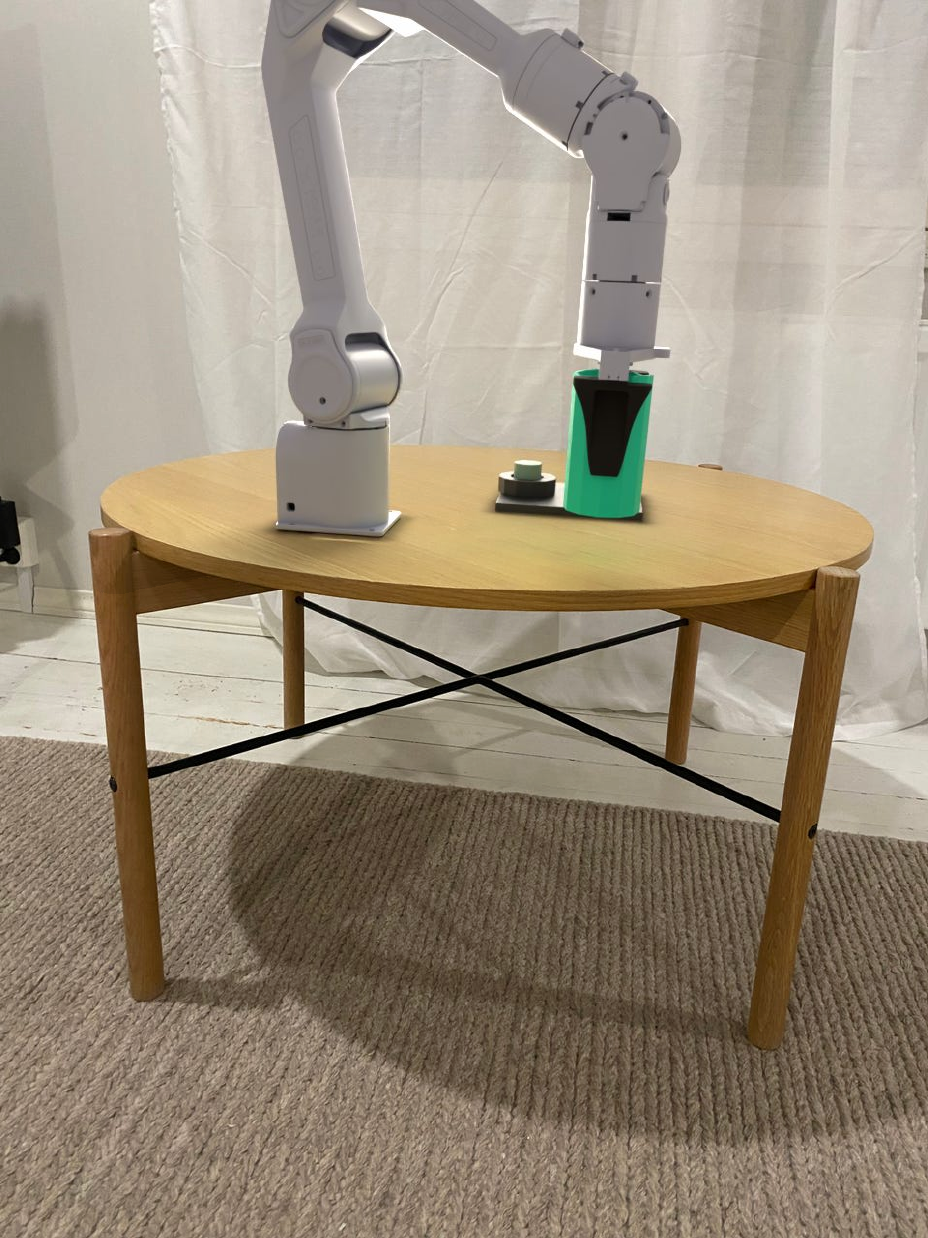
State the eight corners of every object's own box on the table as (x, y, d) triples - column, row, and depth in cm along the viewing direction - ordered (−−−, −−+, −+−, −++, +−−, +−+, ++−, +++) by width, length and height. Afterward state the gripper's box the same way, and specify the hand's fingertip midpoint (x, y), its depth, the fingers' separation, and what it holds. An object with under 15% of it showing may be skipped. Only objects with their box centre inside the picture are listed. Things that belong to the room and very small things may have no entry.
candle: (638, 520, 70) (655, 356, 65) (559, 513, 71) (571, 351, 66) (640, 503, 75) (656, 351, 71) (566, 497, 76) (578, 347, 72)
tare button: (512, 481, 92) (513, 463, 91) (514, 476, 95) (515, 459, 94) (540, 483, 92) (541, 465, 91) (542, 478, 94) (543, 460, 94)
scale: (491, 511, 89) (492, 485, 88) (504, 487, 100) (505, 464, 99) (642, 521, 87) (644, 495, 86) (638, 495, 98) (641, 472, 97)
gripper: (684, 284, 60) (661, 490, 64) (671, 285, 73) (652, 456, 78) (575, 279, 61) (560, 483, 65) (582, 282, 74) (569, 450, 79)
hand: (604, 468), depth 72 cm, fingers closed on candle, 5 cm apart
